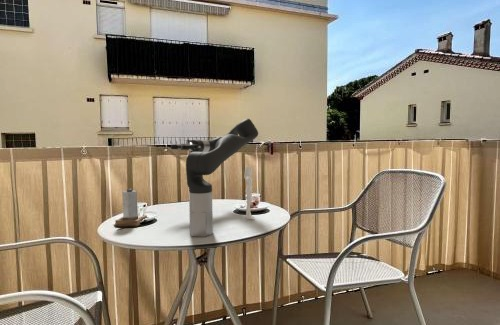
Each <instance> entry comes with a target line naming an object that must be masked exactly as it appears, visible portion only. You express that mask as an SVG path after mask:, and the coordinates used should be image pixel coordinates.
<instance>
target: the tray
mask: <svg viewBox="0 0 500 325" xmlns="http://www.w3.org/2000/svg"><path fill="white" fill-rule="evenodd" d="M142 215H143V217H141V218H139V219H137V220H123V216H121V217H120V218H117V219H116V220H115V221H114V222H115V226H116V227H138V226H141V224H140V221H142V220H143V219H145V218H147V219H148V215H147V214H142Z"/></svg>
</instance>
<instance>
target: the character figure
mask: <svg viewBox="0 0 500 325" xmlns="http://www.w3.org/2000/svg"><path fill="white" fill-rule="evenodd" d="M253 170H254V169H253V167H251V166H246V167H245V169H244V173H243V174H244V175H243V177H244V180H245V181H246V188H245V192H244V193H245V194H246V210H245V216H246V218H245V219H246V220H255V217H254V216H252V213H251V205H252V200H253V199H252V198H253V193H252V191H253V182H254V181H253V180H254V179H253V178H252V177H253Z"/></svg>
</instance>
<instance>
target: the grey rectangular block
mask: <svg viewBox="0 0 500 325" xmlns="http://www.w3.org/2000/svg"><path fill="white" fill-rule="evenodd" d="M121 196H122V214H123V216H122V217H123V220H137V219H138V215H139V213H138V211H139V210H138V190H133V188H127V189H126V190H123V191H122V195H121Z"/></svg>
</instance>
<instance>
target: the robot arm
mask: <svg viewBox="0 0 500 325" xmlns="http://www.w3.org/2000/svg"><path fill="white" fill-rule="evenodd" d="M258 137H259V131H258V129H257V128H256V126H255V124H254V123H253V121H252V119H250V118H245V119H243V120H241V121H240V122H238V123H237V124H236V125H235V126H234V127H232V128H231V130H230V131H229V132H228V133H227V134H224V135H223V136H217V137H215V138H212V139H192V140H190V142H186V143H180V144H178V143H177V144H171V145H170V149H171V150H177V151H178V150H180V151H187V152H189V153H188V155H187V156H186V159H185V172H186V174H185V175H186V185H187V188H188V196H189V197H188V198H189V199H188V202H189V205H188V206H189V208H188V209H189V235H190V237H202V238H203V237H205V238H206V237H208V236H210V235H213V232H214V230H213V227H214V226H213V224H214V222H213V217H214V216H213V185H212V184H211V183H210V182H208V181H206V180H205V179H204V178H203V176H210V175H211V174H214V172H215V171H217V169H218V168H219V167H220V166H221V165H222V164H223V163H224V162H226V160H228V159H229V158H231V156H233V155H234V154H235V153H237V152H238V151H239V150H241V149H242V148H243V147H245V146H246V145H247V144H249V143H251V142H253V141H254V140H255V139H256V138H258Z"/></svg>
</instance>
